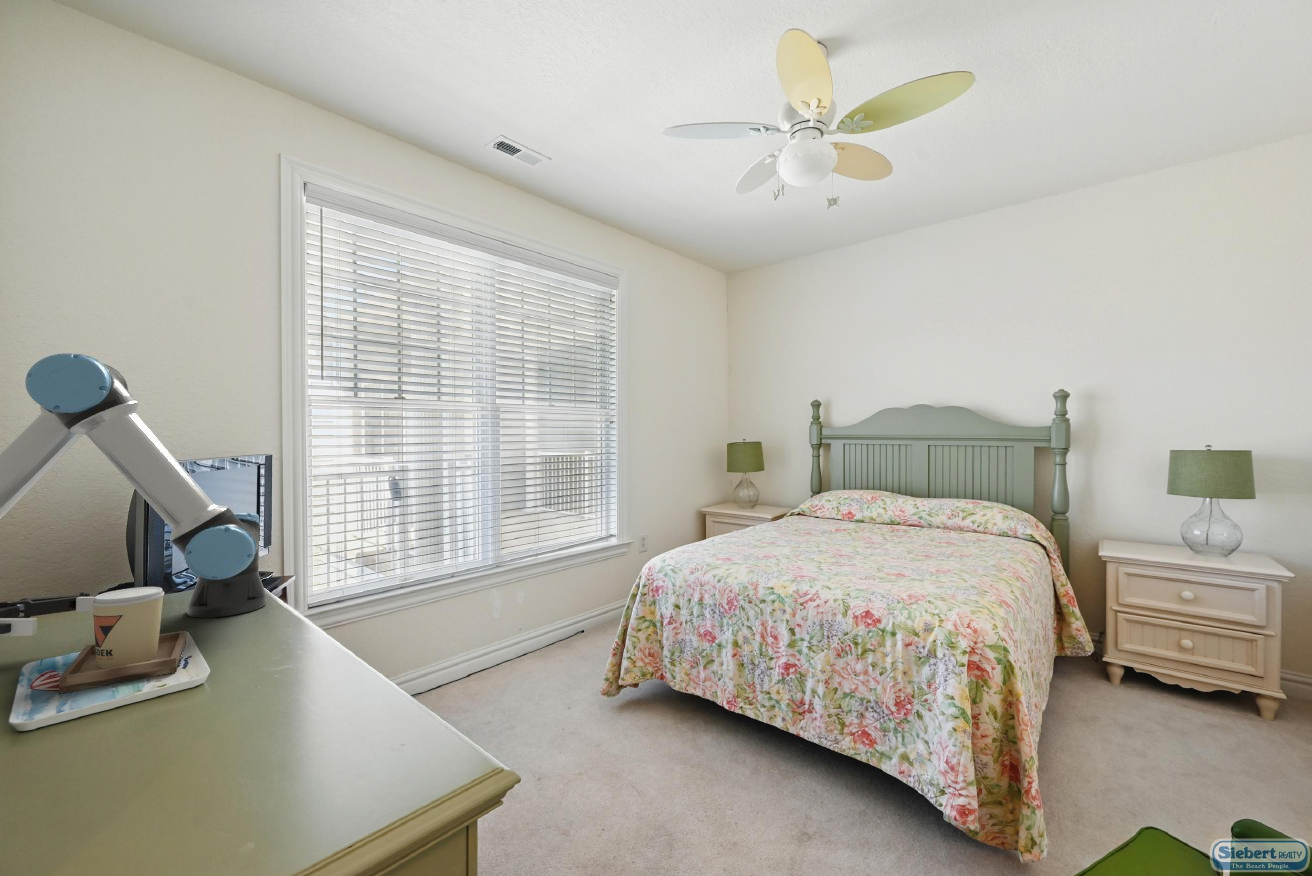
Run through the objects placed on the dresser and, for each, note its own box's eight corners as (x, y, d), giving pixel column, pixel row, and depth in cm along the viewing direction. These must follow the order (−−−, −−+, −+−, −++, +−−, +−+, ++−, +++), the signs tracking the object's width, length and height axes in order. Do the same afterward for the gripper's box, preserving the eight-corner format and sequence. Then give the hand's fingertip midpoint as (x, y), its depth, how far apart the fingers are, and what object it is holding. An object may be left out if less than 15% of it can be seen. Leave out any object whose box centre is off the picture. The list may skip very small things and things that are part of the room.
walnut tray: (185, 643, 110) (186, 630, 110) (175, 672, 95) (176, 658, 95) (86, 658, 101) (86, 645, 101) (58, 693, 87) (59, 677, 87)
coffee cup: (81, 664, 96) (82, 595, 96) (149, 647, 104) (150, 584, 105) (103, 674, 92) (104, 602, 92) (172, 656, 100) (174, 589, 100)
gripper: (31, 615, 110) (139, 615, 111) (-148, 663, 85) (-7, 662, 86) (32, 577, 110) (140, 577, 111) (-146, 615, 85) (-5, 614, 86)
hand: (76, 614), depth 98 cm, fingers open, 13 cm apart
